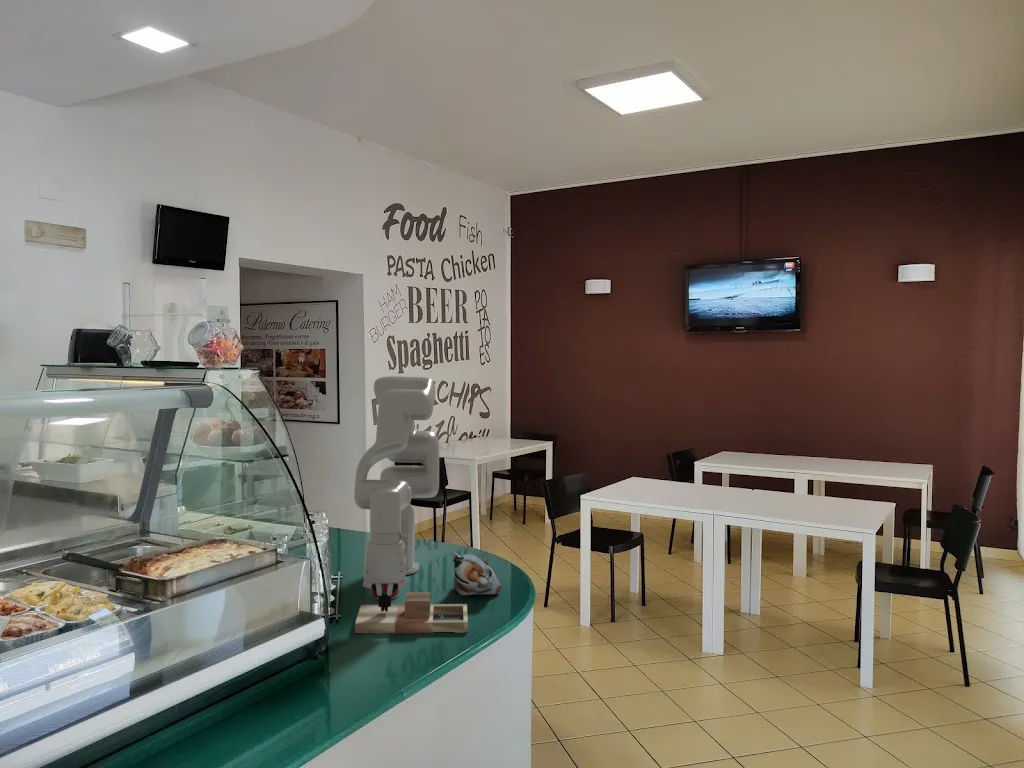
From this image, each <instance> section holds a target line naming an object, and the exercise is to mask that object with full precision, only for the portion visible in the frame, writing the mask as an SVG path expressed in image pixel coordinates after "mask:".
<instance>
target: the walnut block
mask: <svg viewBox="0 0 1024 768" xmlns="http://www.w3.org/2000/svg"><path fill="white" fill-rule="evenodd" d="M430 604H431V591H425V592H424V591H421V592H419V591H416V592H415V591H414V592H413V591H411V592H410V591H409V592H408V591H407V592H406V593H405V598H404V605H405V619H429V617H430Z"/></svg>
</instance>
